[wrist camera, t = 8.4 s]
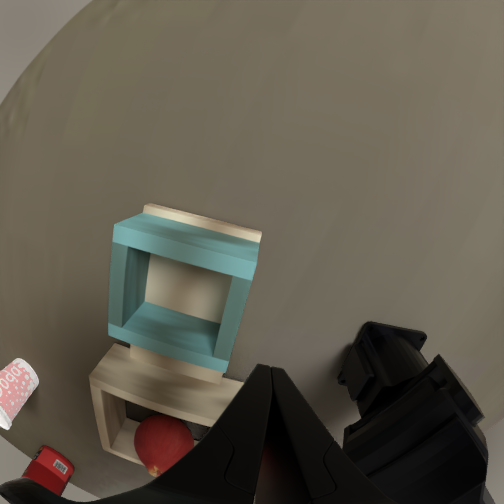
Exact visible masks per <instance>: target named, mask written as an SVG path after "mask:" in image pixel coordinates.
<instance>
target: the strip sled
mask: <svg viewBox="0 0 504 504" xmlns="http://www.w3.org/2000/svg"><path fill="white" fill-rule="evenodd" d="M261 235H262V232H260V231H257V230H253V229H249V228H245V227H242V226H238V225H234V224H230V223H226V222H222V221H219V220H215V219H211V218H207V217H203V216H199V215H195V214H191V213H187V212H183V211H179V210H175V209H171V208H167V207H163V206H159V205H155V204H151V203H150V204H147V205H144V211H143V213H141V214H138V215H136V216H133V217H131V218H128V219H126V220H124V221H121V222H119V223H116V224H114V233H113V242H112V253H111V265H110V281H109V309H108V335H109V336H112V337H114V338H117V339H119V340H122V341H125V342H127V343H130V349H129V348H127V347H124V346H122V345H119V344H116V343H114V344H113V346H112V347H111V348H110V349H109V351H108V352H107V353H106V354H105V356H104V357H103V358H102V360H101V361H100V362H99V363H98V365H97V366H96V367H95V369H94V370H93V371H92V372H91V374H90V375H89V381H90V388H91V394H92V400H93V406H94V411H95V416H96V421H97V426H98V431H99V435H100V439H101V443H102V447H103V450H106V451H108V452H110V453H112V454H115V455H117V456H120V457H122V458H125V459H127V460H130V461H132V462H135V463H138V464H140V465H143V466H145V465H144V464H143V463H142V462H141V461H140V459H139V457H138V455H137V453H136V451H135V447H134V436H135V432H136V429H137V427H138V426H139V424H140V423H139V422H136V421H134V420H131V419H129V418H126V404H125V400H128V401H130V402H133V403H136V404H138V405H141V406H144V407H146V408H149V409H152V410H155V411H158V412H161V413H164V414H167V415H170V416H174V417H177V418H180V419H184V420H187V421H191V422H194V423H198V424H202V425H206V426H209V427H212V426H213V424H214V423H215V422H216V421H217V419H218V418H219V417H220V415H221V414H222V413H223V411H224V410H225V409H226V407H227V406H228V405H229V403H230V402H231V401H232V399H233V398H234V396H235V395H236V394H237V392H238V391H239V389H240V388H241V387H242V385H243V384H244V382H239V381H235V380H231V379H227V378H223V377H222V375H223V372H224V373H226V370H227V366H228V363H229V359H230V356H231V352H232V349H233V346H234V342H235V339H236V335H237V332H238V328H239V325H240V321H241V318H242V314H243V311H244V307H245V304H246V300H247V296H248V293H249V289H250V286H251V282H252V279H253V275H254V272H255V268H256V265H257V259H258V251H259V243H260V239H261ZM198 442H199V441H196V440H194V446H195V445H196V444H197V443H198Z"/></svg>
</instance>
